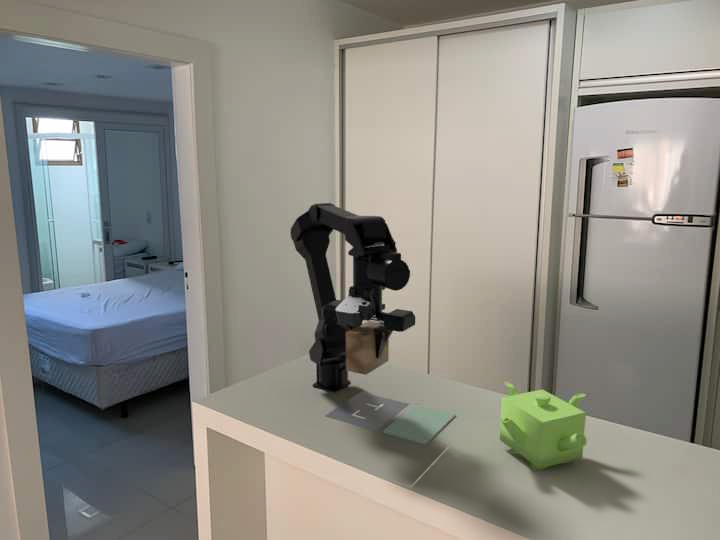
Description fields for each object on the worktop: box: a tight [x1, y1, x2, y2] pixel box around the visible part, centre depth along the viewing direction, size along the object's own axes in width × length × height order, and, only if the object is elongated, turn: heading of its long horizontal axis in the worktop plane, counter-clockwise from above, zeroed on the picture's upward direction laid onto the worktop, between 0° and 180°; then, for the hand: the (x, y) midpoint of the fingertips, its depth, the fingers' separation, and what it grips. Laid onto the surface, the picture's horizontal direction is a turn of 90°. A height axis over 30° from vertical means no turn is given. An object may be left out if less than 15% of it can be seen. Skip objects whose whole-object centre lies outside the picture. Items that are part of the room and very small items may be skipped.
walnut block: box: [346, 320, 390, 376], centre depth 114 cm, size 5×9×8 cm, turn 148°
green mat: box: [382, 404, 457, 446], centre depth 110 cm, size 9×14×1 cm, turn 148°
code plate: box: [324, 391, 410, 431], centre depth 117 cm, size 12×14×1 cm
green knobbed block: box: [499, 381, 588, 472], centre depth 98 cm, size 15×14×11 cm
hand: (367, 355), depth 114 cm, fingers closed on walnut block, 5 cm apart
